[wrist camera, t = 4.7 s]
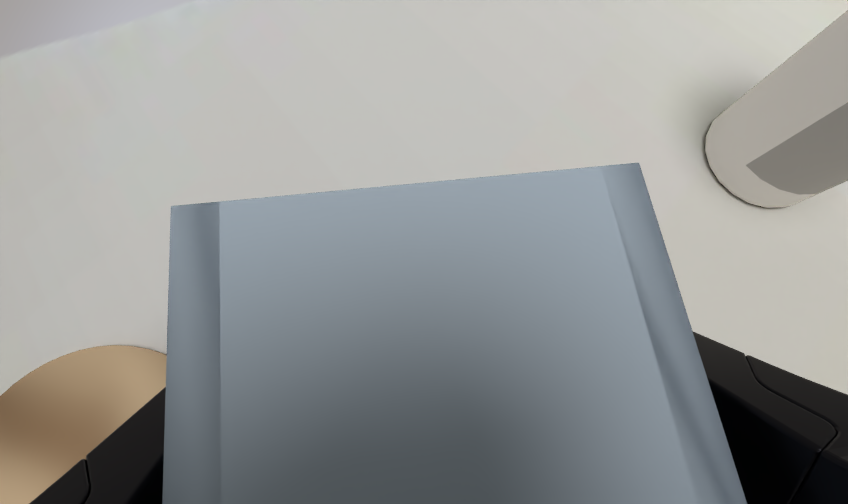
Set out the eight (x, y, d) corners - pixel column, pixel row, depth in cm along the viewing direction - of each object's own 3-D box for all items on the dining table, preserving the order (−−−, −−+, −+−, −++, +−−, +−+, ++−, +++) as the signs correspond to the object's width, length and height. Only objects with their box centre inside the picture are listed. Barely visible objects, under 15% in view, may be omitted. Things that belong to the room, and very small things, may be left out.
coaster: (141, 679, 17) (136, 686, 16) (-113, 569, 17) (-124, 573, 17) (273, 398, 20) (270, 398, 20) (58, 311, 20) (52, 309, 20)
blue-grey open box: (510, 456, 15) (779, 605, 5) (323, 488, 14) (155, 751, 4) (482, 302, 17) (639, 162, 6) (312, 324, 16) (171, 206, 6)
